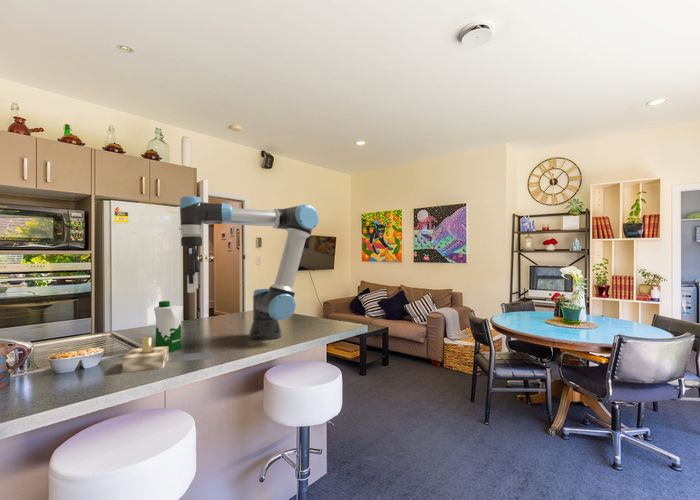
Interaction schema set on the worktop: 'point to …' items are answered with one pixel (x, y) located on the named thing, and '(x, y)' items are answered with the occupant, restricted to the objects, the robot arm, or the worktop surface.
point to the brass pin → (146, 345)
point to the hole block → (145, 359)
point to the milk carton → (168, 325)
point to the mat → (191, 356)
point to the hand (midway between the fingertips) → (193, 290)
